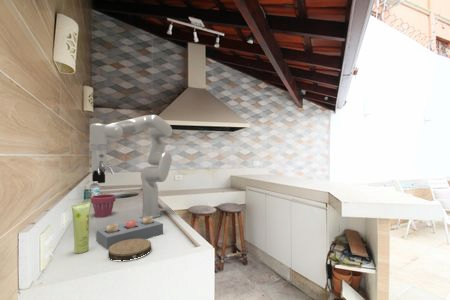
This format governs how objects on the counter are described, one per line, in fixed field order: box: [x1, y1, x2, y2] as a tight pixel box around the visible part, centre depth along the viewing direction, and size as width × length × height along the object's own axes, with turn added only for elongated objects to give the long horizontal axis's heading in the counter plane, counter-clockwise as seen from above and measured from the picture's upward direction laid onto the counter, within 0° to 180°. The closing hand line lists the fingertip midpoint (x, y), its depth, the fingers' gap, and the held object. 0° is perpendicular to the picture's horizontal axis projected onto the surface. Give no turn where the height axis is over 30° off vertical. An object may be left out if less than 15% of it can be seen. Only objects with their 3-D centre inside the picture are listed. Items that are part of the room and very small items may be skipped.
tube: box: [71, 201, 91, 254], centre depth 95 cm, size 6×5×20 cm
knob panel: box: [95, 219, 164, 250], centre depth 111 cm, size 26×14×5 cm, turn 135°
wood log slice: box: [107, 239, 152, 261], centre depth 93 cm, size 16×16×3 cm
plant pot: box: [90, 193, 116, 218], centre depth 152 cm, size 14×14×13 cm
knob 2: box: [142, 217, 153, 225], centre depth 117 cm, size 4×4×4 cm
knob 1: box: [106, 223, 119, 234], centre depth 105 cm, size 4×4×4 cm
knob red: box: [125, 219, 137, 229], centre depth 111 cm, size 4×4×4 cm
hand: (98, 182), depth 117 cm, fingers open, 9 cm apart
